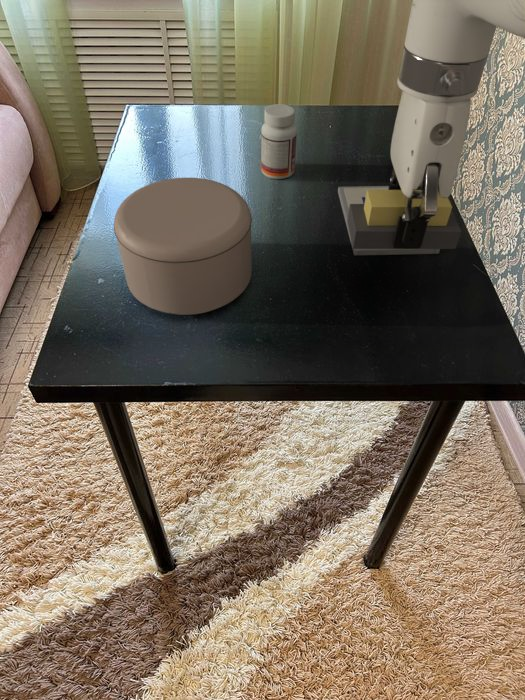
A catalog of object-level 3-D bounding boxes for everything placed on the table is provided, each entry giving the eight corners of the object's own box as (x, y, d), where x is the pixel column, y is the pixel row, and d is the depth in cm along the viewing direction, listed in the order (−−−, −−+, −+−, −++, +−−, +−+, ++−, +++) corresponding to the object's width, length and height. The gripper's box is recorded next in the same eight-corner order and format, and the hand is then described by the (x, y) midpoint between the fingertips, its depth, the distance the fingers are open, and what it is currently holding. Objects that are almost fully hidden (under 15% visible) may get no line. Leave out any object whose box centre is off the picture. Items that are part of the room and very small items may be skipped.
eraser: (444, 221, 66) (455, 185, 62) (455, 249, 62) (468, 212, 59) (347, 221, 66) (352, 184, 62) (352, 249, 62) (359, 211, 58)
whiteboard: (438, 253, 83) (440, 248, 82) (353, 255, 82) (354, 250, 81) (411, 190, 95) (413, 185, 94) (337, 191, 94) (338, 186, 93)
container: (269, 305, 74) (271, 235, 66) (140, 335, 70) (123, 265, 62) (231, 232, 86) (228, 164, 77) (118, 254, 82) (102, 185, 73)
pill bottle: (279, 159, 101) (281, 99, 93) (301, 173, 98) (305, 111, 90) (254, 170, 99) (254, 108, 90) (275, 184, 96) (277, 121, 87)
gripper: (509, 111, 45) (450, 278, 58) (457, 37, 56) (417, 191, 70) (419, 110, 44) (381, 278, 58) (385, 37, 56) (359, 191, 69)
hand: (401, 229), depth 64 cm, fingers closed on eraser, 5 cm apart
